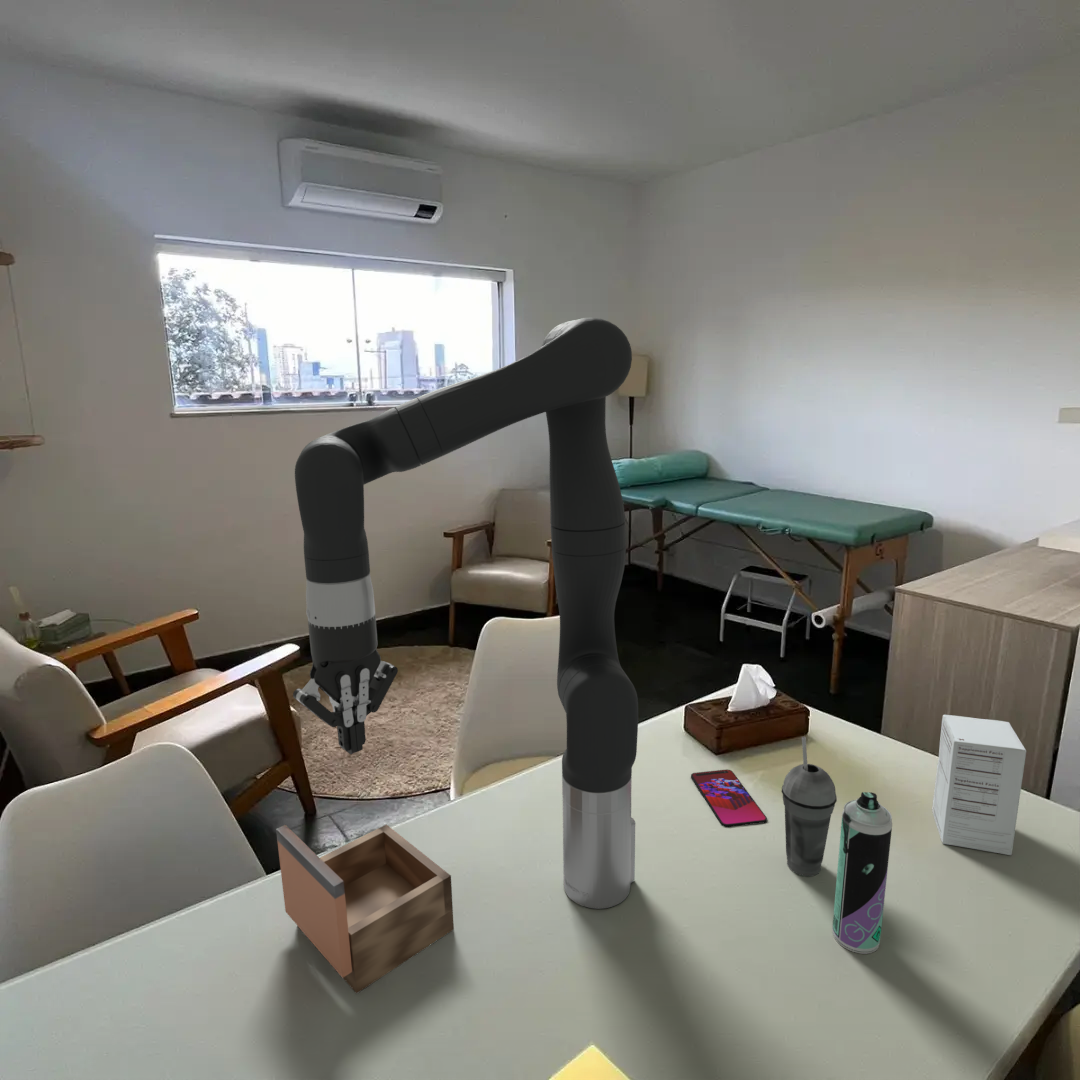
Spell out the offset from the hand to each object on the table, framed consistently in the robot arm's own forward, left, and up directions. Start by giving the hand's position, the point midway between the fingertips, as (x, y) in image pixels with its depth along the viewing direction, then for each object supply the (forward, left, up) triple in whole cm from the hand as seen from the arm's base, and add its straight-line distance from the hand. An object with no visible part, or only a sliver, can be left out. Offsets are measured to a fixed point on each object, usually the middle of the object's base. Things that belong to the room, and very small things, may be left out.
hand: (353, 749), depth 88 cm
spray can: (-43, +44, -26) cm, 67 cm away
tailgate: (+6, 0, -23) cm, 23 cm away
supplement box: (-76, +47, -26) cm, 93 cm away
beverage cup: (-51, +33, -26) cm, 66 cm away
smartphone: (-58, +16, -26) cm, 66 cm away
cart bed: (-1, 0, -26) cm, 26 cm away
